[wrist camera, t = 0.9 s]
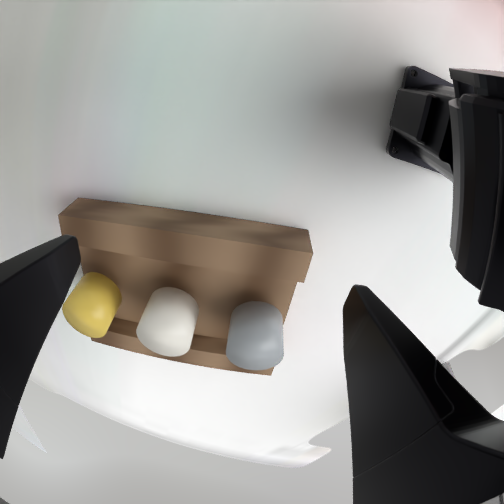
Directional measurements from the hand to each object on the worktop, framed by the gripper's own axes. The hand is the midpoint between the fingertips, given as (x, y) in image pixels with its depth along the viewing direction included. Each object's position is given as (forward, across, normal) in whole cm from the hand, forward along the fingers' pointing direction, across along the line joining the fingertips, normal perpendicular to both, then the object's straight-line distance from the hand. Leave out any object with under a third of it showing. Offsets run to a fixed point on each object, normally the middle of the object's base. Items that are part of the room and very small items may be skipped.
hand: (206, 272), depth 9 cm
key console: (+12, +4, +11) cm, 17 cm away
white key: (+9, +4, +11) cm, 15 cm away
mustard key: (+9, +10, +11) cm, 18 cm away
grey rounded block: (+9, -3, +11) cm, 15 cm away
